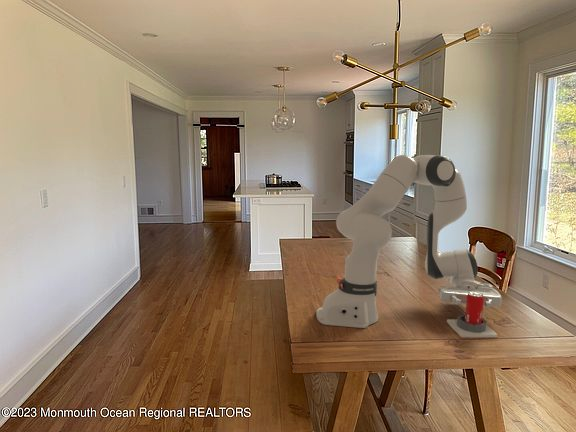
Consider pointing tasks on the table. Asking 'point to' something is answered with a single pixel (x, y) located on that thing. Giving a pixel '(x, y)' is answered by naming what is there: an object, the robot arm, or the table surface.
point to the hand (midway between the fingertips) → (473, 304)
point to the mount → (470, 328)
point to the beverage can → (474, 308)
